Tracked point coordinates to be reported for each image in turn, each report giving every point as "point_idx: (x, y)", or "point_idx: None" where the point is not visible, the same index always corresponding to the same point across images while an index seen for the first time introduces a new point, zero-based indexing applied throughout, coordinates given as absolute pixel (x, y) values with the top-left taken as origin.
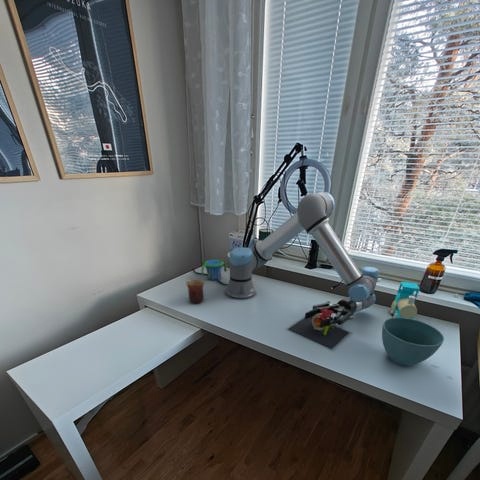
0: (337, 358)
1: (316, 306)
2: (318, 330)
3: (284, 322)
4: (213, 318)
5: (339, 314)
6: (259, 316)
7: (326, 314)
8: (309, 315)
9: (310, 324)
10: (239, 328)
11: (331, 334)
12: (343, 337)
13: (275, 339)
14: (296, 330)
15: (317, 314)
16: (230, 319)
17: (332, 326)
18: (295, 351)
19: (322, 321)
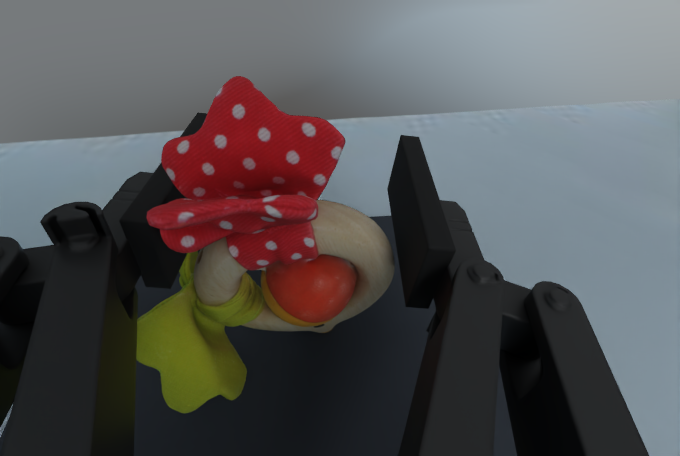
0: (32, 196)
1: (543, 320)
2: (292, 332)
3: (514, 251)
4: (601, 117)
5: (22, 410)
6: (613, 206)
7: (226, 174)
8: (397, 188)
9: (410, 358)
10: (509, 124)
11: (157, 373)
12: (3, 433)
13: (377, 144)
14: (387, 227)
15: (349, 208)
16: (588, 136)
17: (142, 318)
18: None
19: (202, 117)
